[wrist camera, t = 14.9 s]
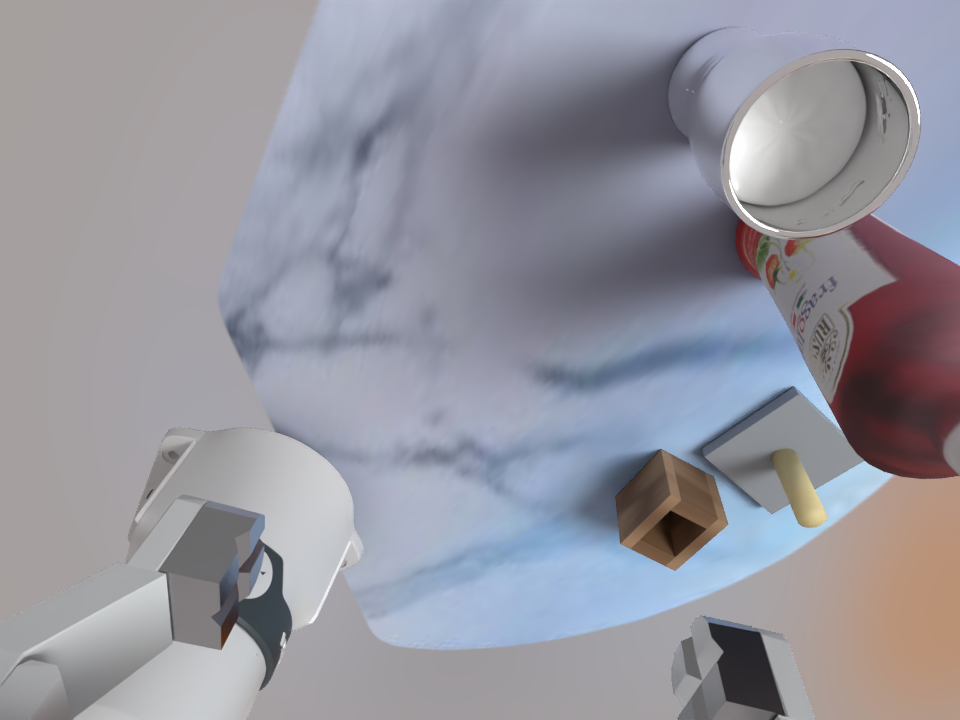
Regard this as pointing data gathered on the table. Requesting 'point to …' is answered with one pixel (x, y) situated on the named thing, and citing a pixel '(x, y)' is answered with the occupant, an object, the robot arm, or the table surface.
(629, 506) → the collar
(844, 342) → the liquor
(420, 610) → the table surface
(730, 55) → the beer glass
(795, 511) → the post stand
